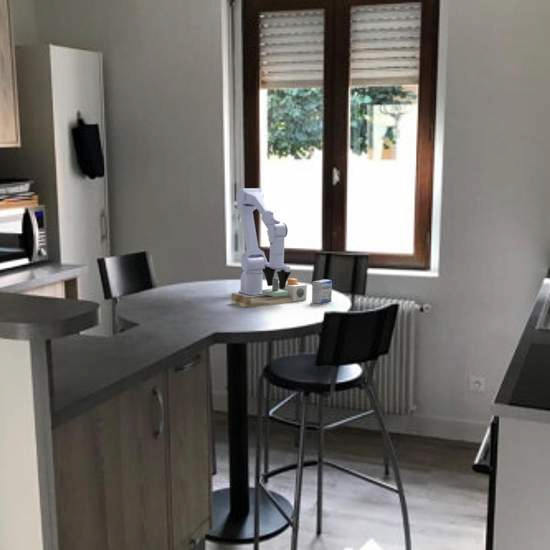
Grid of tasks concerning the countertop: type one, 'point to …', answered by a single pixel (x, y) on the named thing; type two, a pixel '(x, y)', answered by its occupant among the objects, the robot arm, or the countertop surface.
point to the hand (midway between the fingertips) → (275, 287)
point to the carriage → (275, 290)
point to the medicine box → (321, 291)
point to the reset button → (292, 281)
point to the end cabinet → (296, 291)
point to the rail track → (258, 300)
